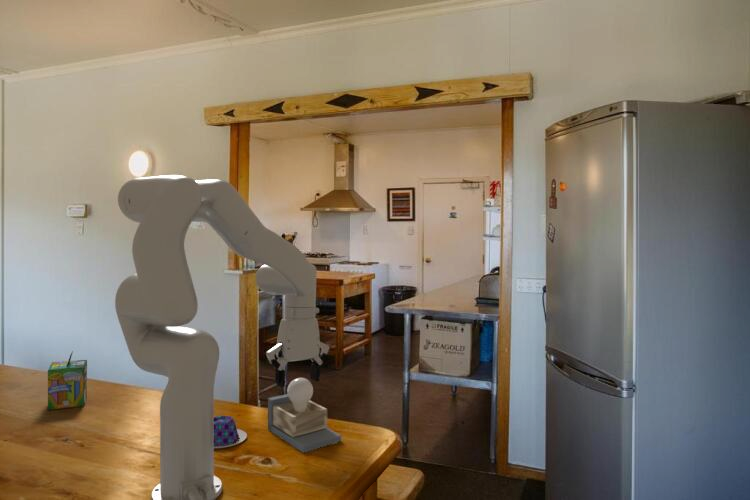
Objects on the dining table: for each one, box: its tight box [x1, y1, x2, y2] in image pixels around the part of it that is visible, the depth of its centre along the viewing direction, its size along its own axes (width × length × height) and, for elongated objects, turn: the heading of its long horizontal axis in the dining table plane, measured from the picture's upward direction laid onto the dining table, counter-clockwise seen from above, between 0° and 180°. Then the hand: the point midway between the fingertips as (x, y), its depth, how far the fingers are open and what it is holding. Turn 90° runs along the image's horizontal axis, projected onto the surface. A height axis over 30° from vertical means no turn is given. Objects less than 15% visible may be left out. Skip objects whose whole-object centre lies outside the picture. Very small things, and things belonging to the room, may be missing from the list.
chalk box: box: [47, 351, 88, 411], centre depth 146 cm, size 9×9×15 cm
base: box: [267, 393, 342, 454], centre depth 125 cm, size 18×10×8 cm, turn 39°
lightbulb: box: [286, 377, 314, 415], centre depth 127 cm, size 6×6×11 cm
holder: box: [273, 399, 328, 437], centre depth 127 cm, size 10×10×5 cm
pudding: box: [214, 415, 248, 449], centre depth 123 cm, size 12×12×5 cm
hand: (297, 382), depth 126 cm, fingers open, 9 cm apart
